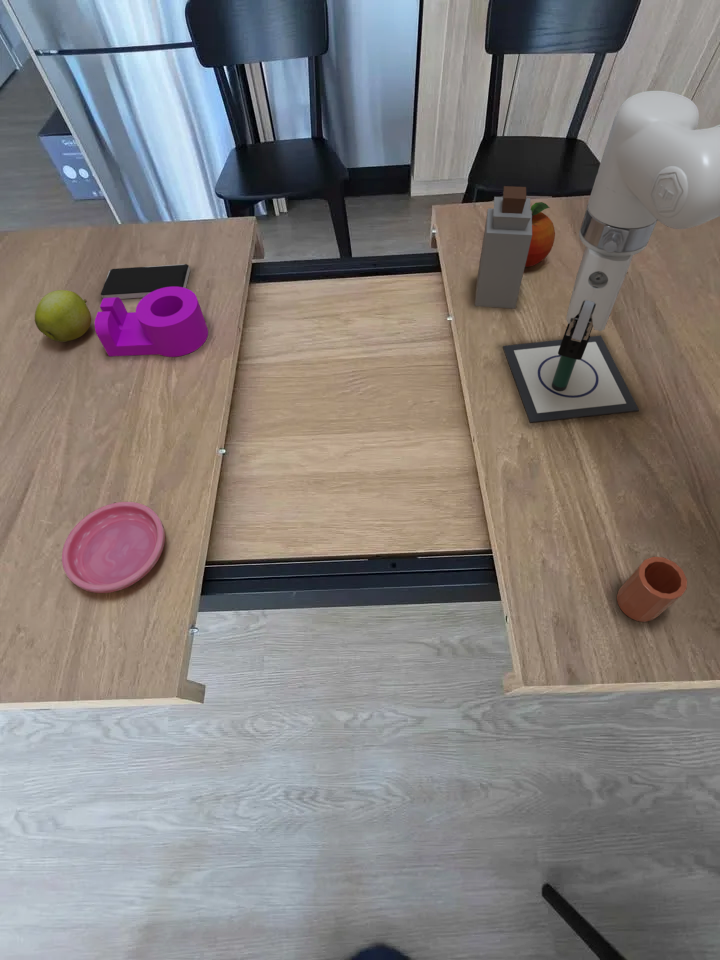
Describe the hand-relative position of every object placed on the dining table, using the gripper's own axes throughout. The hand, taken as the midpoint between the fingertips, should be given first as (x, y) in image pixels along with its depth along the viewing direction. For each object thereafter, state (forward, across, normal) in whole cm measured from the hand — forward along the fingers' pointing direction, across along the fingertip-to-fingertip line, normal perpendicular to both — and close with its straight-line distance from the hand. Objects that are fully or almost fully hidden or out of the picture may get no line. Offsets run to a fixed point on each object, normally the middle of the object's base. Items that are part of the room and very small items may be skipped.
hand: (572, 348), depth 77 cm
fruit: (+8, +29, +13) cm, 33 cm away
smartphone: (+8, -2, +75) cm, 75 cm away
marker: (+8, 0, 0) cm, 8 cm away
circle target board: (+8, +3, -1) cm, 9 cm away
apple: (+8, -18, +79) cm, 81 cm away
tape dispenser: (+8, -13, +64) cm, 66 cm away
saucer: (+8, -49, +44) cm, 67 cm away
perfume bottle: (+8, +18, +15) cm, 25 cm away
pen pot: (+8, -30, -16) cm, 35 cm away
